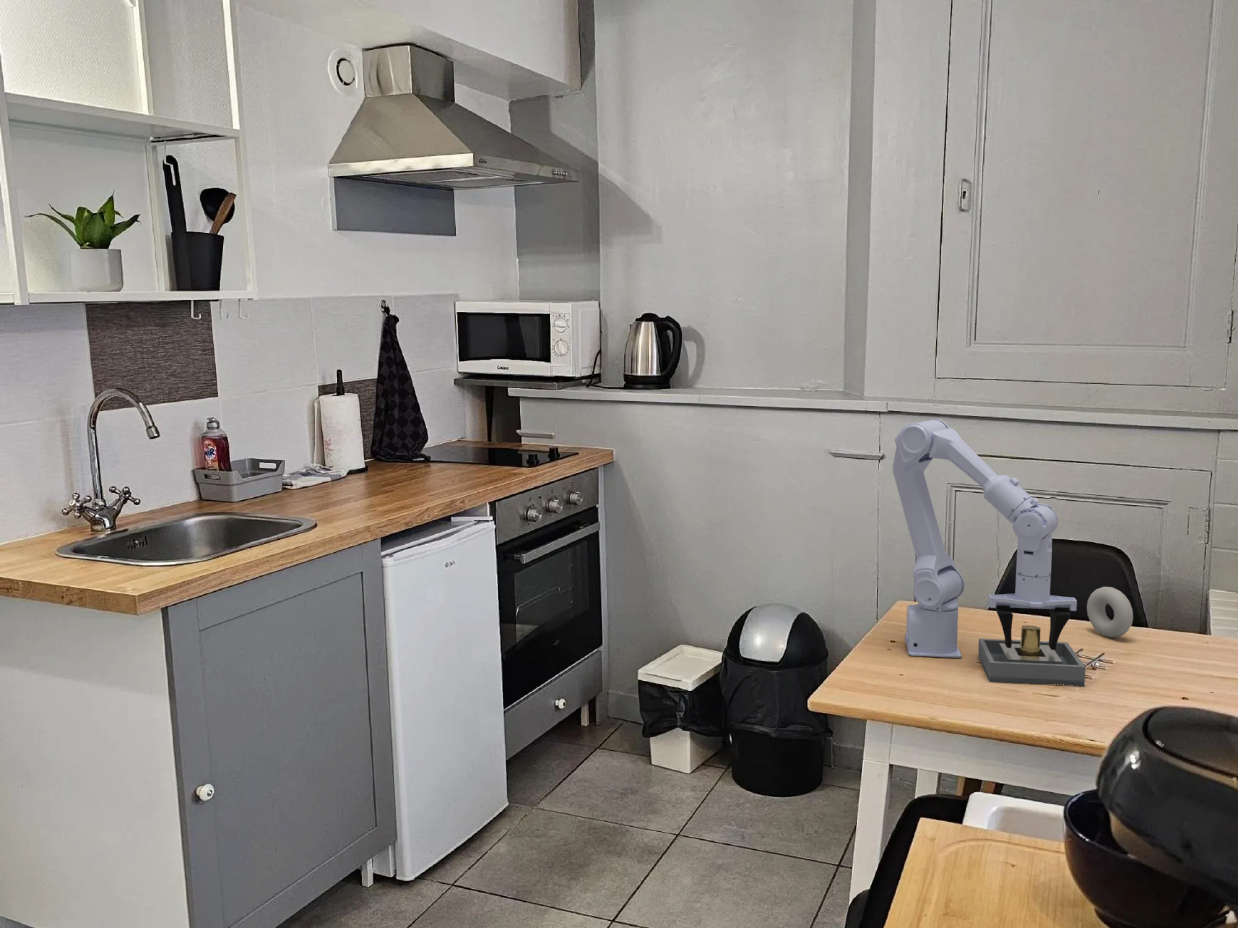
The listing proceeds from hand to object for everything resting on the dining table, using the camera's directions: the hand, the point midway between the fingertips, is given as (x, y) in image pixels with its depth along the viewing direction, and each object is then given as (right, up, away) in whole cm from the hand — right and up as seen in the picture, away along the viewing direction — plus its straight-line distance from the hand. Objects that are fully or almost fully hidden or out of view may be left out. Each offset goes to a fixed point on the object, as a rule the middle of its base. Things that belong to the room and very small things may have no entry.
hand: (1030, 647), depth 189 cm
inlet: (0, -4, +1) cm, 4 cm away
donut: (+23, -1, +19) cm, 30 cm away
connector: (0, -3, 0) cm, 3 cm away
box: (0, -4, +1) cm, 4 cm away
